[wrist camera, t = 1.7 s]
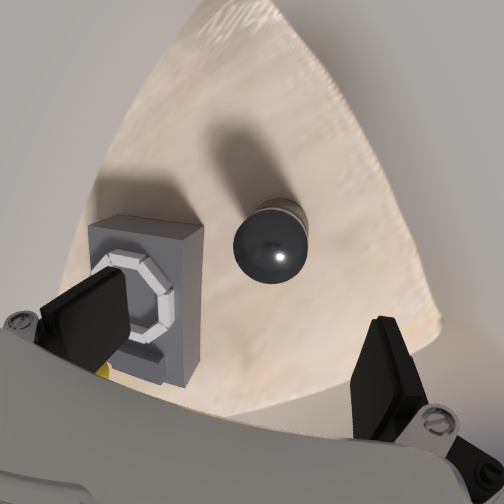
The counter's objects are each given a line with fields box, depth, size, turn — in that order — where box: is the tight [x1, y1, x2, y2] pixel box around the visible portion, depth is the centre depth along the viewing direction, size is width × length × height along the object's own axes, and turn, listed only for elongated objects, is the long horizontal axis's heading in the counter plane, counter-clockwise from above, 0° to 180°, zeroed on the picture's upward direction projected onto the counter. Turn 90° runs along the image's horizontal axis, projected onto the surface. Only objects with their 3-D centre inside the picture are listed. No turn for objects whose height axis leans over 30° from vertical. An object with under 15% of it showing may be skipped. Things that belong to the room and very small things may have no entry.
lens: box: [233, 198, 308, 284], centre depth 23 cm, size 5×5×7 cm
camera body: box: [88, 215, 204, 388], centre depth 28 cm, size 16×10×6 cm, turn 174°
